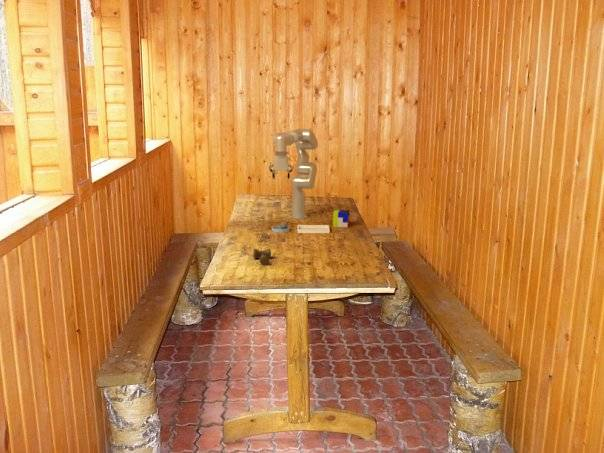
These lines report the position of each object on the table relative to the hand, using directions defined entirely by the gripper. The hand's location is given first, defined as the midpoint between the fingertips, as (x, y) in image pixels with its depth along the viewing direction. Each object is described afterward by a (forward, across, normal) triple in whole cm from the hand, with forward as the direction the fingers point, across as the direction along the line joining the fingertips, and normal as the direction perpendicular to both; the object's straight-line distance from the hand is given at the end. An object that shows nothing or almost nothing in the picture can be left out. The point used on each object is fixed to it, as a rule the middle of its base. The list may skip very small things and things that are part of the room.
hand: (281, 178), depth 403 cm
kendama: (+34, +8, +84) cm, 91 cm away
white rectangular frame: (+33, -22, +13) cm, 42 cm away
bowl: (+33, 0, +13) cm, 36 cm away
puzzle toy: (+34, -42, -4) cm, 54 cm away
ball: (+32, 0, +13) cm, 34 cm away
